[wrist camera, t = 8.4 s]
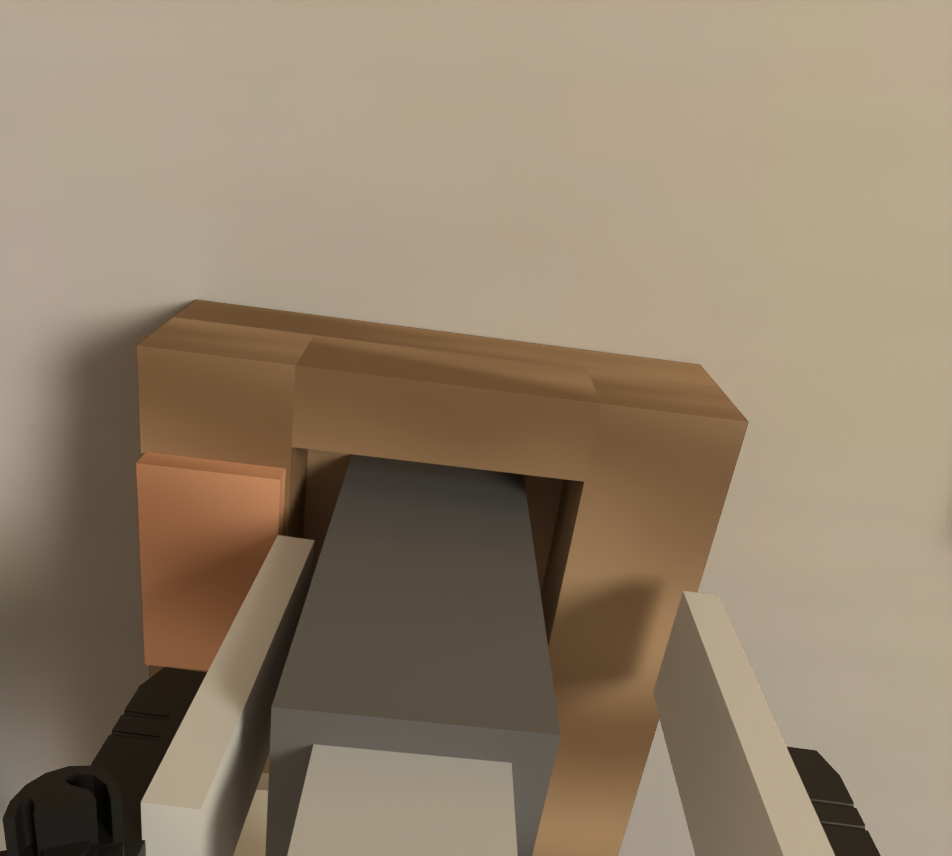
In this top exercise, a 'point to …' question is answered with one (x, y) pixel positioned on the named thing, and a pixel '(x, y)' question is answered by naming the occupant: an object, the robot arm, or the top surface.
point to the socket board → (454, 444)
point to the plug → (416, 674)
